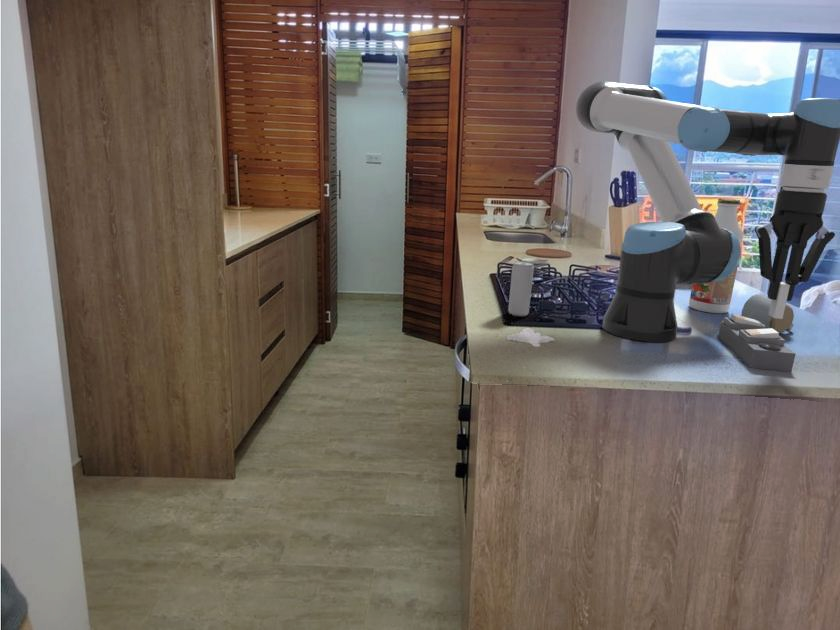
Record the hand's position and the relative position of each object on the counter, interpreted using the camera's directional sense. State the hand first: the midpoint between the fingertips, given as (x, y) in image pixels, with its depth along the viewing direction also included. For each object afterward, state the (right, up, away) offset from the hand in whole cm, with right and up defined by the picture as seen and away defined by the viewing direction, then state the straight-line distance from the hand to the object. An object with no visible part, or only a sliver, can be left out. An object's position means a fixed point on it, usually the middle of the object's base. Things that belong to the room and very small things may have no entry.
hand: (775, 316), depth 111 cm
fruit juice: (+7, +2, +40) cm, 40 cm away
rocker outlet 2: (-2, -4, +1) cm, 4 cm away
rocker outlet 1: (0, -1, +11) cm, 11 cm away
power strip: (-1, -7, +6) cm, 9 cm away
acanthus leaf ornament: (-45, -5, +6) cm, 46 cm away
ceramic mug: (+12, -3, +23) cm, 27 cm away
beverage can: (-45, 0, +25) cm, 51 cm away
